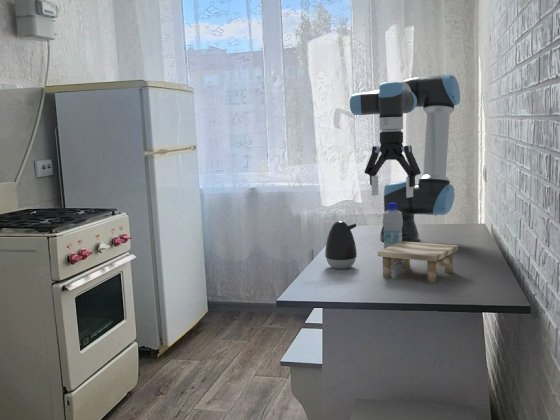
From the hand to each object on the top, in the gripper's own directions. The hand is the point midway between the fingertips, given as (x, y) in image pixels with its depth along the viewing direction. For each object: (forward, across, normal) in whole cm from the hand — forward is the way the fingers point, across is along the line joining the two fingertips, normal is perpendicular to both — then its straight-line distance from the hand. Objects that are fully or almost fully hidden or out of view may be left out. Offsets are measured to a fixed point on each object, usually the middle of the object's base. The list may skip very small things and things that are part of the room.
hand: (392, 196), depth 200 cm
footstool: (+22, +16, -10) cm, 29 cm away
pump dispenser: (+22, -9, -16) cm, 29 cm away
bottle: (+22, 0, 0) cm, 22 cm away
